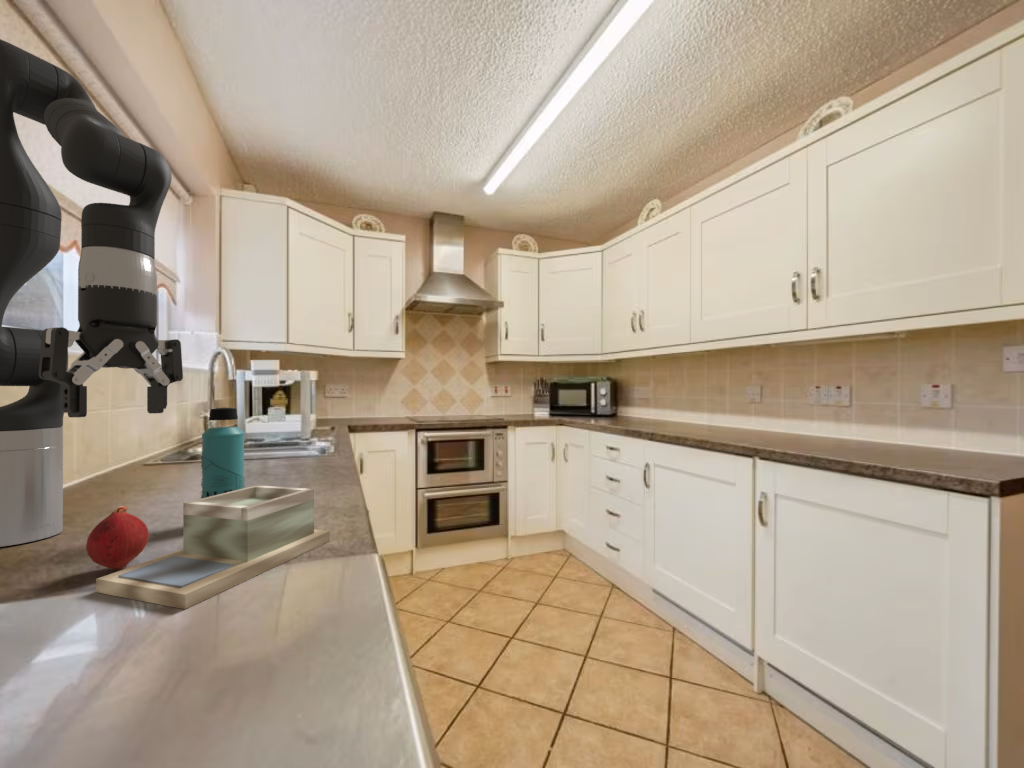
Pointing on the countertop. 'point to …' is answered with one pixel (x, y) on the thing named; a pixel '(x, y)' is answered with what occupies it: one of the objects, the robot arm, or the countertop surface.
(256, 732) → the countertop surface
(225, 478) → the beverage bottle
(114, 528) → the onion
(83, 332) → the robot arm
